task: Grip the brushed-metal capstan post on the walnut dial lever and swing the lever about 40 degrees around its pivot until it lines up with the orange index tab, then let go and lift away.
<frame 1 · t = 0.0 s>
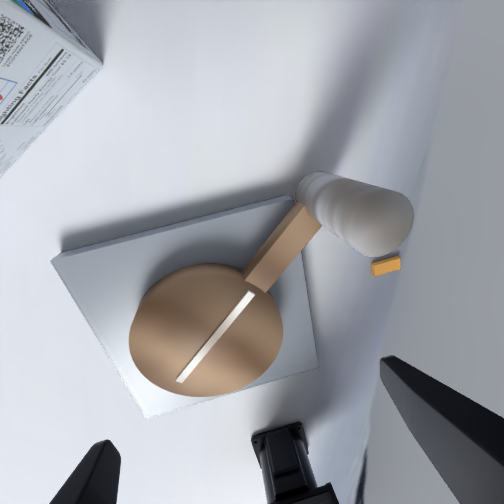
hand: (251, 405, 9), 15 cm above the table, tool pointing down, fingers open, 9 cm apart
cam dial: (250, 314, 18), point 6 cm above the table, hinge at 40.0°
light bulb box: (2, 80, 16), on the table
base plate: (209, 313, 24), on the table
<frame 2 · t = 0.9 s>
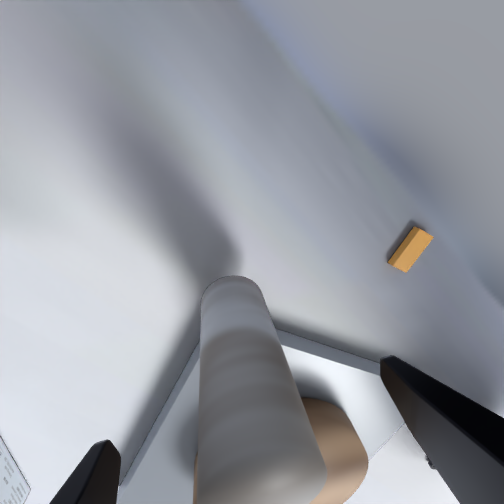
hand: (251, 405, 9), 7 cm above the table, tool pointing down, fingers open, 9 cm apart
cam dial: (281, 487, 14), point 6 cm above the table, hinge at 40.0°
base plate: (271, 431, 21), on the table
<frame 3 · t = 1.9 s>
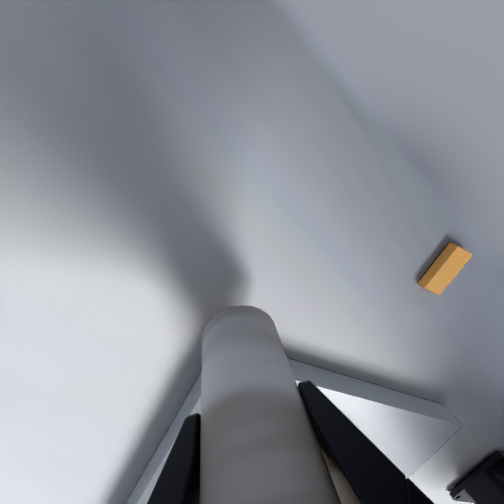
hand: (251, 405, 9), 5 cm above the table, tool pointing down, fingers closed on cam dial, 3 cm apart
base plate: (280, 466, 19), on the table
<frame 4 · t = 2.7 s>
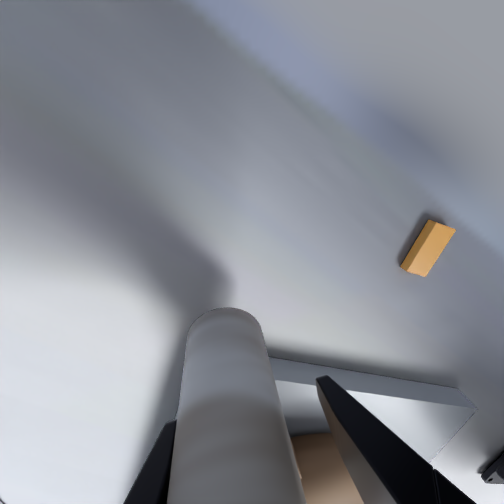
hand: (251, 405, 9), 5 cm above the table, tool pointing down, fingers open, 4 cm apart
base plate: (290, 462, 19), on the table
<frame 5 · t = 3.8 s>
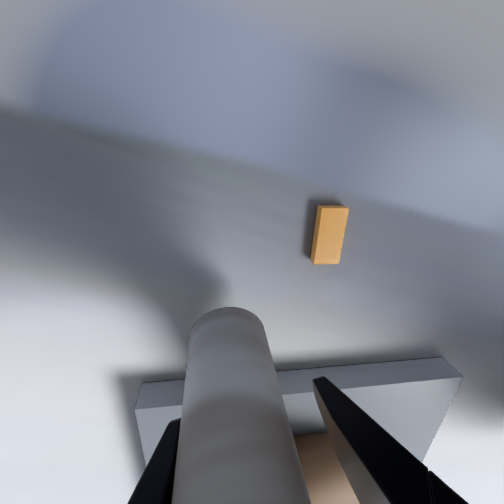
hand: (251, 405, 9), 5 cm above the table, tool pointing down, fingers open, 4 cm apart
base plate: (290, 462, 19), on the table
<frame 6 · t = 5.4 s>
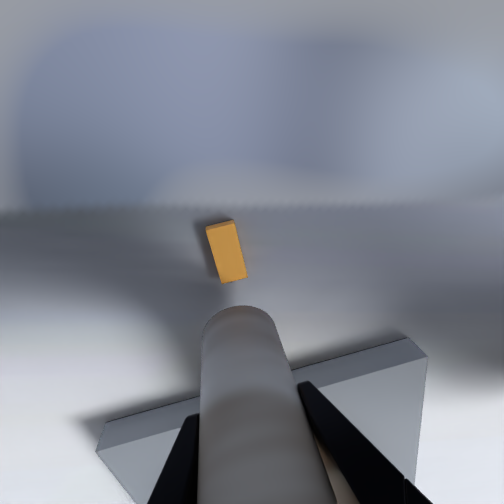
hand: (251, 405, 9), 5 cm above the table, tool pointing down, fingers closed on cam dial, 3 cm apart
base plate: (285, 464, 19), on the table
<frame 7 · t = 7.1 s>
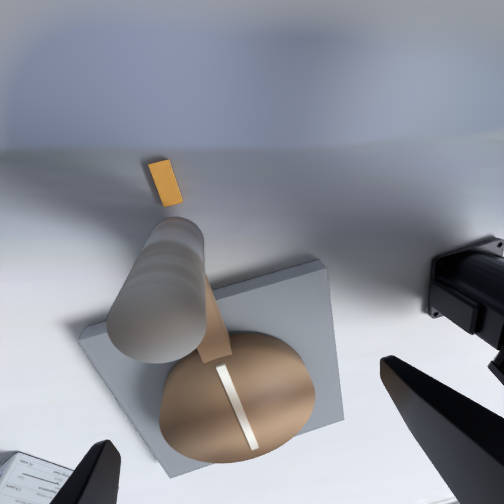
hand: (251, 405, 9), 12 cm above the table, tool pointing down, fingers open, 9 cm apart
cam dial: (225, 396, 16), point 6 cm above the table, hinge at 1.4°
light bulb box: (53, 484, 25), on the table
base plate: (235, 373, 24), on the table
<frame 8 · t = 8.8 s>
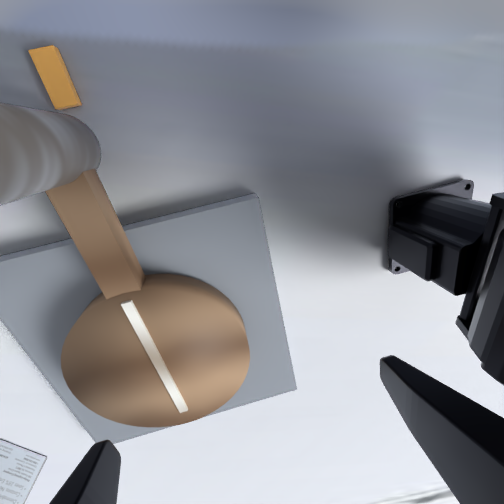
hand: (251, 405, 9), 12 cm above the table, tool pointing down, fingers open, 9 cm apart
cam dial: (122, 333, 14), point 6 cm above the table, hinge at 1.4°
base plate: (168, 329, 21), on the table
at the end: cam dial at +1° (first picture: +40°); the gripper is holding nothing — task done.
